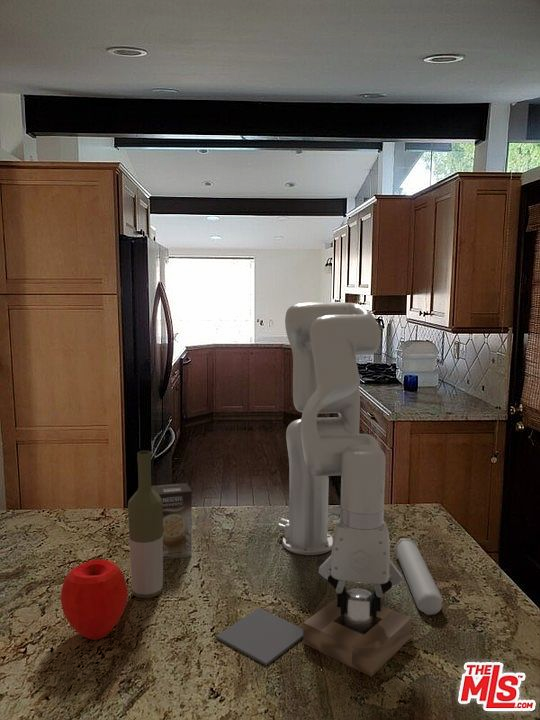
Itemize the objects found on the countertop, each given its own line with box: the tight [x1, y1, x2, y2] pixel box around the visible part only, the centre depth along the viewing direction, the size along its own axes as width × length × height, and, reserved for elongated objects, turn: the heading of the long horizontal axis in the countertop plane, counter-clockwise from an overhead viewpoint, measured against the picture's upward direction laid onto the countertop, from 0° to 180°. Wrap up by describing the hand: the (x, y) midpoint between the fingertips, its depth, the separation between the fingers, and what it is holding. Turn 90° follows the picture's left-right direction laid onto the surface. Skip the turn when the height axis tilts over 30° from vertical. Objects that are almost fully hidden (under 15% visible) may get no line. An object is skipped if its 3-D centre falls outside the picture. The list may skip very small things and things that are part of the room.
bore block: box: [302, 597, 412, 678], centre depth 106 cm, size 14×14×4 cm
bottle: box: [127, 450, 164, 599], centre depth 121 cm, size 7×7×30 cm
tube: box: [394, 538, 443, 616], centre depth 126 cm, size 5×5×25 cm
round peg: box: [344, 587, 373, 635], centre depth 106 cm, size 5×5×8 cm
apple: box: [60, 558, 128, 640], centre depth 108 cm, size 12×12×13 cm
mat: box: [215, 607, 303, 667], centre depth 108 cm, size 12×12×1 cm
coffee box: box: [151, 482, 193, 561], centre depth 139 cm, size 9×6×16 cm
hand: (358, 611), depth 106 cm, fingers closed on round peg, 5 cm apart
